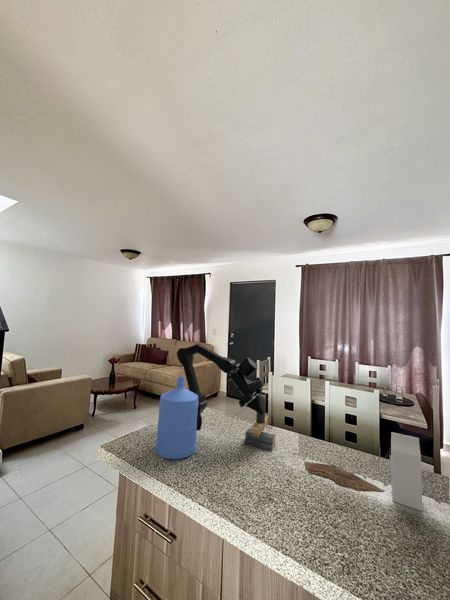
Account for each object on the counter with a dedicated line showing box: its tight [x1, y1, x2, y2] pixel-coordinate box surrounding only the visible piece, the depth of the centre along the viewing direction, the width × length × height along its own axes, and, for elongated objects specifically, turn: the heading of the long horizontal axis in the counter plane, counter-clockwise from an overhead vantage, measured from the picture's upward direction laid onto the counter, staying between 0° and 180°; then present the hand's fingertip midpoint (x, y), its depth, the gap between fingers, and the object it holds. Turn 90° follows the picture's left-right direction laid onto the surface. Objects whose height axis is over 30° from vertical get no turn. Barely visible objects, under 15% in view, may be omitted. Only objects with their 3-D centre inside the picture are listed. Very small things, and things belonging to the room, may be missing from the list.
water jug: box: [155, 376, 199, 460], centre depth 100 cm, size 16×16×28 cm
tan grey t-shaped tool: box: [250, 394, 270, 438], centre depth 109 cm, size 18×4×14 cm, turn 156°
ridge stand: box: [244, 428, 276, 452], centre depth 108 cm, size 12×6×4 cm, turn 66°
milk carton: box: [390, 431, 423, 512], centre depth 77 cm, size 7×7×19 cm
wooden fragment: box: [304, 461, 385, 493], centre depth 87 cm, size 26×11×1 cm, turn 53°
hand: (264, 412), depth 109 cm, fingers closed on tan grey t-shaped tool, 4 cm apart
